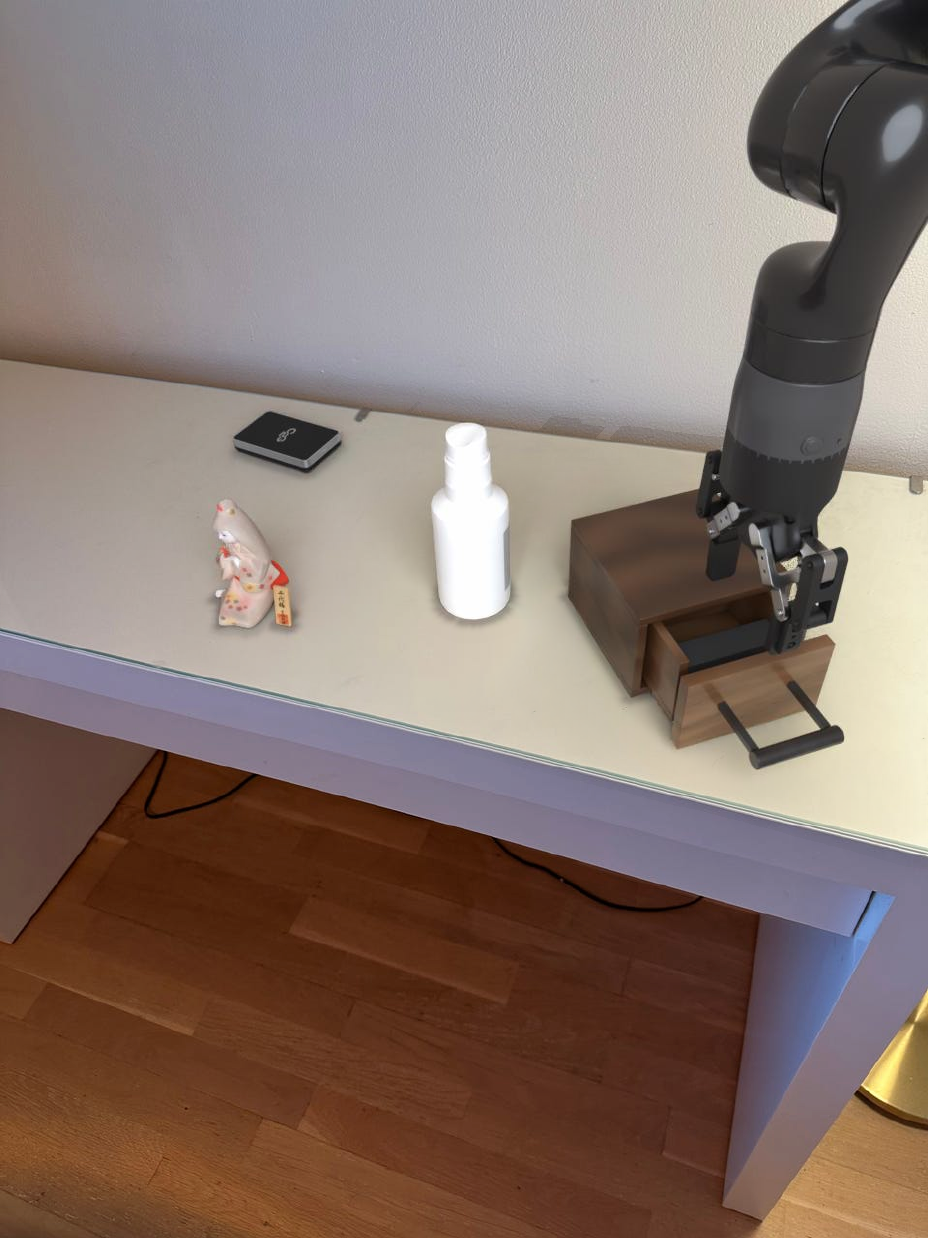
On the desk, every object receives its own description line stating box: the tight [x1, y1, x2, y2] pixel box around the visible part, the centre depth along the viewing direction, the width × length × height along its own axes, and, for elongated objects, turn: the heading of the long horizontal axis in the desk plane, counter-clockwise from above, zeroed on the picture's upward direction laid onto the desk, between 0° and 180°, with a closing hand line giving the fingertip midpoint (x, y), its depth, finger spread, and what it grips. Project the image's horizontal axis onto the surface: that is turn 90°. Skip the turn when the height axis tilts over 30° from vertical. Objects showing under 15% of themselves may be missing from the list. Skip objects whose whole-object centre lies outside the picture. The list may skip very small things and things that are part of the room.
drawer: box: [642, 591, 845, 771], centre depth 74 cm, size 19×12×7 cm, turn 18°
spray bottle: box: [430, 422, 512, 620], centre depth 82 cm, size 7×7×18 cm
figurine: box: [212, 497, 293, 629], centre depth 85 cm, size 9×7×12 cm
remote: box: [678, 619, 770, 674], centre depth 75 cm, size 8×4×3 cm
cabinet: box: [567, 488, 793, 698], centre depth 81 cm, size 14×14×9 cm
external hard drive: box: [232, 410, 342, 473], centre depth 107 cm, size 7×11×2 cm, turn 60°
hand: (748, 611), depth 69 cm, fingers open, 8 cm apart
